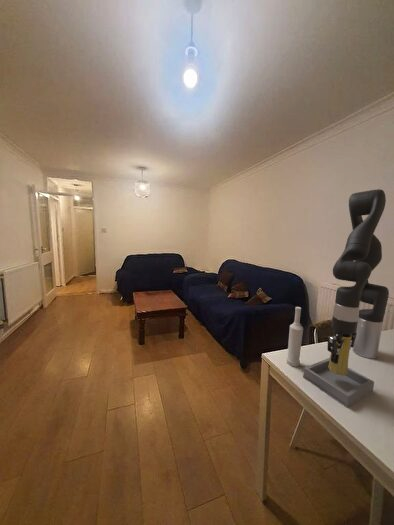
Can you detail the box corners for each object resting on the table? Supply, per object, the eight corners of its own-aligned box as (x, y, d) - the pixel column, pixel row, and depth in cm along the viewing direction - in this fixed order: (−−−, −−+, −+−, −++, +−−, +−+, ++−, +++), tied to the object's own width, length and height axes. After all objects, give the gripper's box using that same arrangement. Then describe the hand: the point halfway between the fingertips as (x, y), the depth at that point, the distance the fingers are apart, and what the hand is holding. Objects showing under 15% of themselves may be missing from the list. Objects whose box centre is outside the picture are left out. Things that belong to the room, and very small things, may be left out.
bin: (328, 366, 91) (329, 357, 91) (372, 391, 77) (374, 381, 77) (303, 377, 84) (304, 367, 83) (346, 407, 70) (348, 396, 69)
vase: (350, 377, 76) (356, 339, 74) (331, 374, 78) (336, 336, 75) (343, 366, 82) (348, 331, 80) (325, 364, 83) (329, 329, 81)
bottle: (293, 368, 90) (299, 310, 86) (283, 361, 94) (288, 306, 90) (302, 365, 92) (308, 309, 88) (292, 358, 96) (297, 304, 92)
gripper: (345, 310, 83) (340, 350, 86) (322, 315, 77) (316, 359, 79) (368, 317, 77) (361, 361, 79) (344, 324, 70) (337, 371, 73)
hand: (339, 360), depth 79 cm, fingers closed on vase, 5 cm apart
